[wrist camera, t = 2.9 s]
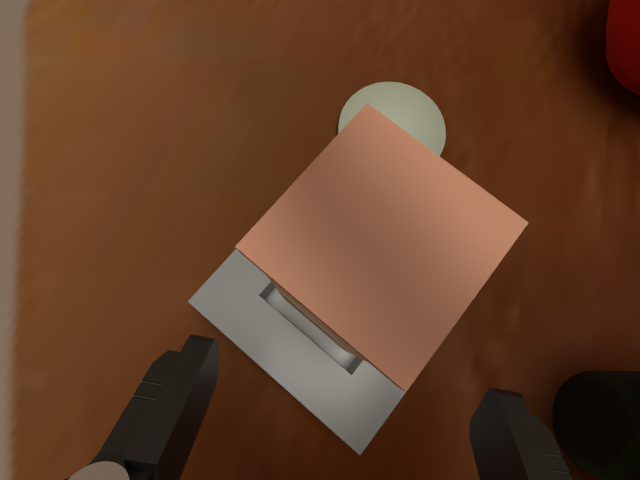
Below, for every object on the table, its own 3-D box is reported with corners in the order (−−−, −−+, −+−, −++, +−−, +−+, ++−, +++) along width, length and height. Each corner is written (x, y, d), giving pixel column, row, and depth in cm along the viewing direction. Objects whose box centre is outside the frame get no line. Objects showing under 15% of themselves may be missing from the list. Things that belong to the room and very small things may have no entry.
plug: (332, 236, 23) (367, 102, 9) (395, 288, 22) (528, 222, 9) (279, 298, 22) (235, 246, 8) (344, 353, 21) (406, 392, 8)
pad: (380, 69, 26) (382, 63, 26) (463, 128, 26) (466, 123, 25) (316, 138, 25) (316, 134, 24) (400, 204, 24) (403, 200, 24)
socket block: (325, 173, 24) (327, 148, 21) (464, 282, 23) (490, 274, 20) (205, 306, 22) (187, 301, 19) (351, 435, 21) (359, 455, 18)
